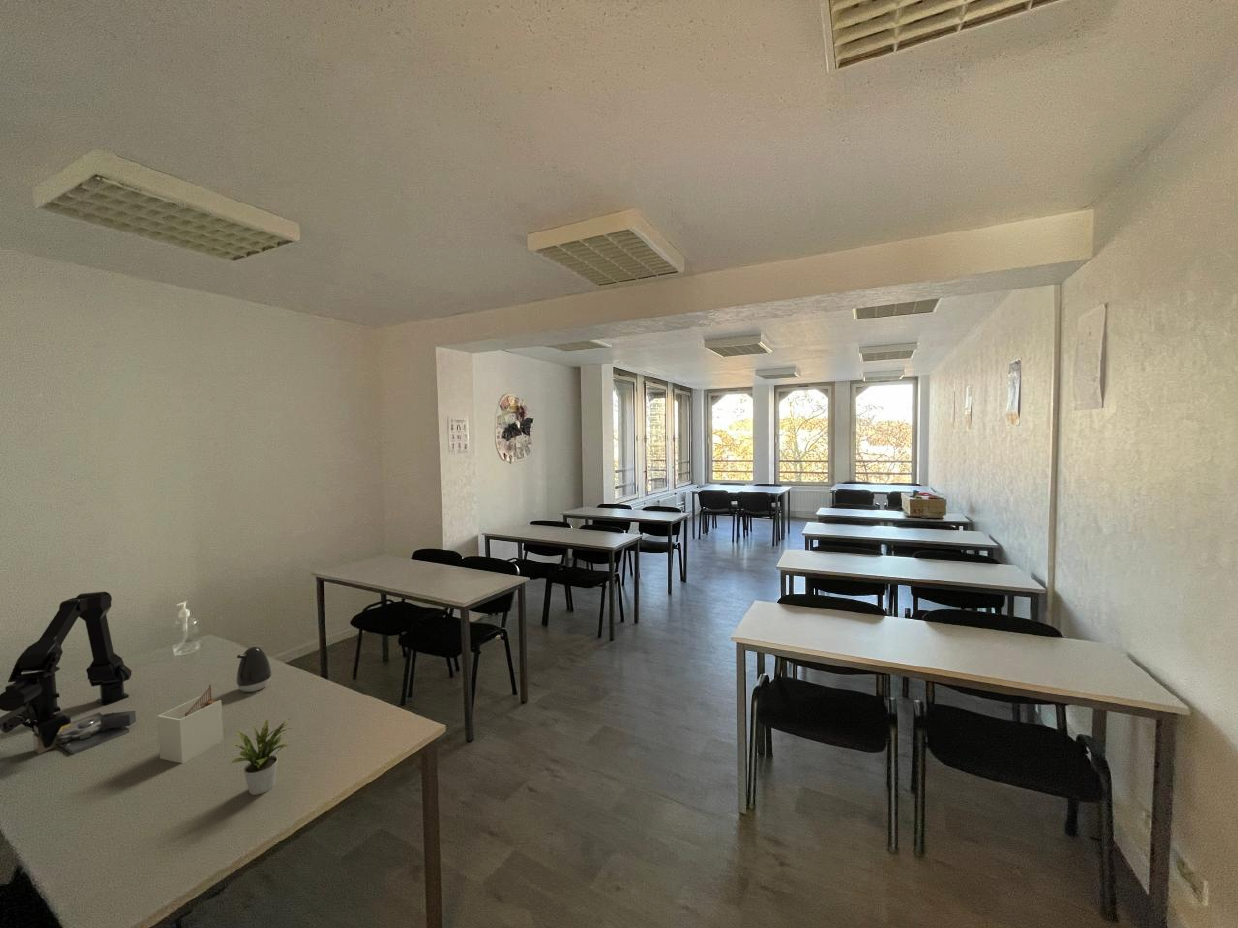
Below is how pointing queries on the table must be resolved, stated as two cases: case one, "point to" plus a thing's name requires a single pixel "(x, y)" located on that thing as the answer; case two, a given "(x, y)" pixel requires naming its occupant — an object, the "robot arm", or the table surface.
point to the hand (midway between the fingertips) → (45, 745)
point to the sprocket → (95, 725)
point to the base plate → (91, 738)
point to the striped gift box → (41, 744)
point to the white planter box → (190, 729)
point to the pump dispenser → (253, 670)
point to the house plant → (260, 759)
